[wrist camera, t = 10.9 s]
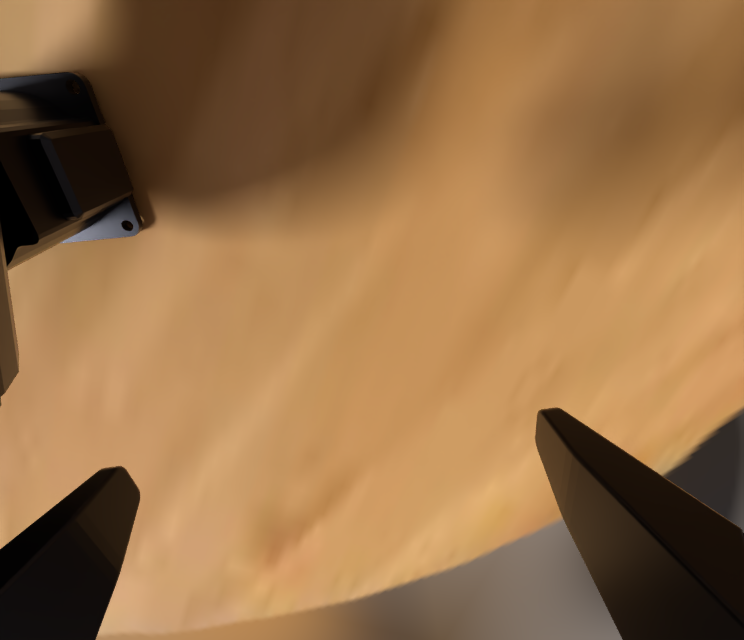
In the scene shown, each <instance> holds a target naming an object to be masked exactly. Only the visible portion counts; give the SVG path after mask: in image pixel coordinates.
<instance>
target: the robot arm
mask: <svg viewBox="0 0 744 640" xmlns="http://www.w3.org/2000/svg"><path fill="white" fill-rule="evenodd" d="M73 81H75V82H77V83H78V85H79V87H80V92H79V94H77V93H76V92H75V91H74V90H73V88H72V82H73ZM132 191H133V187H132V184H131V181H130V179H129V176H128V173H127V170H126V168H125V165H124V162H123V160H122V157H121V154H120V151H119V149H118V146H117V143H116V141H115V138H114V135H113V132H112V130H111V129H109V128H108V127H107V126H106V124H105V121H104V119H103V116H102V113H101V111H100V108H99V105H98V102H97V100H96V97H95V94H94V92H93V89H92V86H91V84H90V83H89V81H88V80H87V79H86V78H85V77H84V76H83V75H81V74H79V73H72V72H64V73H53V74H43V75H33V76H23V77H13V78H2V79H0V397H1V396H2V395H3V394H4V393H5V392H6V391H7V389H8V387H9V386H10V384H11V383H12V381H13V380H14V378H15V377H16V375H17V374H18V372H19V351H18V344H17V337H16V330H15V323H14V315H13V308H12V301H11V294H10V287H9V280H8V273H7V271H8V270H10V269H12V268H13V267H15V266H17V265H19V264H21V263H23V262H25V261H27V260H29V259H30V258H32V257H34V256H36V255H38V254H40V253H42V252H44V251H46V250H47V249H49V248H51V247H53V246H55V245H57V244H59V243H68V242H79V241H89V240H99V239H109V238H120V237H130V236H134V235H136V234H138V233H139V232H140V231H141V230H142V228H143V224H142V220H141V218H140V215H139V212H138V210H137V207H136V204H135V202H134V199H133V196H132V194H131V193H132ZM126 220H127V221H130V222H131V223H132V224H133V229H132V228H129V227H128V226H127V225H126ZM0 406H1V398H0ZM535 441H536V446H537V449H538V452H539V455H540V458H541V460H542V463H543V466H544V468H545V471H546V474H547V477H548V479H549V482H550V485H551V488H552V490H553V493H554V496H555V498H556V501H557V504H558V507H559V509H560V512H561V514H562V517H563V519H564V521H565V523H566V525H567V528H568V530H569V532H570V534H571V536H572V538H573V540H574V542H575V544H576V546H577V548H578V550H579V552H580V554H581V556H582V558H583V560H584V562H585V564H586V566H587V568H588V570H589V572H590V574H591V577H592V579H593V580H594V583H595V585H596V586H597V589H598V591H599V593H600V595H601V597H602V599H603V601H604V603H605V605H606V607H607V609H608V611H609V613H610V615H611V617H612V619H613V621H614V623H615V625H616V627H617V629H618V631H619V633H620V635H621V637H622V639H623V640H744V533H743V531H742V529H741V528H740V527H738V526H737V525H735V524H733V523H732V522H731V521H729V520H728V519H726V518H725V517H723V516H722V515H720V514H719V513H717V512H716V511H714V510H713V509H711V508H709V507H708V506H707V505H705V504H704V503H702V502H701V501H699V500H697V499H696V498H695V497H693V496H692V495H690V494H689V493H687V492H685V491H684V490H682V489H681V488H680V487H678V486H677V485H675V484H673V483H672V482H671V481H669V480H668V479H666V478H664V477H663V476H661V475H660V474H658V473H657V472H655V471H654V470H652V469H651V468H649V467H648V466H646V465H645V464H643V463H642V462H640V461H639V460H637V459H636V458H634V457H633V456H631V455H630V454H628V453H627V452H625V451H624V450H622V449H621V448H619V447H618V446H616V445H615V444H613V443H612V442H610V441H609V440H607V439H606V438H604V437H603V436H601V435H600V434H598V433H597V432H595V431H594V430H592V429H591V428H589V427H588V426H586V425H585V424H583V423H582V422H580V421H579V420H577V419H576V418H574V417H573V416H571V415H570V414H568V413H567V412H565V411H564V410H562V409H560V408H549V409H541V410H539V412H538V414H537V423H536V435H535ZM139 502H140V491H139V489H138V487H137V485H136V484H135V482H134V481H133V479H132V478H131V476H130V475H129V473H128V472H127V470H126V469H125V468H124V467H122V466H116V467H109V468H103V469H101V470H99V471H98V472H97V473H95V474H94V475H93V476H92V477H90V478H89V479H88V480H87V481H85V482H84V483H83V484H82V485H80V486H79V487H78V488H77V489H75V490H74V491H73V492H72V493H70V494H69V495H68V496H66V497H65V498H64V499H63V500H61V501H60V502H59V503H58V504H56V505H55V506H54V507H53V508H51V509H50V510H49V511H48V512H46V513H45V514H44V515H43V516H41V517H40V518H39V519H38V520H36V521H35V522H34V523H33V524H31V525H30V526H29V527H28V528H26V529H25V530H24V531H23V532H21V533H20V534H19V535H18V536H16V537H15V538H14V539H13V540H11V541H10V542H9V543H8V544H6V545H5V546H4V547H3V548H1V549H0V640H95V639H96V637H97V634H98V631H99V629H100V626H101V623H102V621H103V618H104V615H105V613H106V610H107V607H108V605H109V602H110V599H111V597H112V594H113V591H114V589H115V586H116V583H117V580H118V577H119V574H120V571H121V568H122V564H123V561H124V557H125V554H126V550H127V546H128V543H129V539H130V535H131V532H132V528H133V524H134V521H135V517H136V513H137V509H138V506H139Z"/></svg>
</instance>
